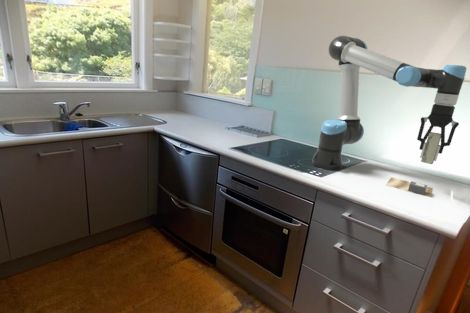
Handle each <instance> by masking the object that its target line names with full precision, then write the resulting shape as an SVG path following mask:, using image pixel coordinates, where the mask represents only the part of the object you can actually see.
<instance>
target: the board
mask: <svg viewBox="0 0 470 313" xmlns="http://www.w3.org/2000/svg"><path fill="white" fill-rule="evenodd" d="M410 183H411V181H407V180H403V179H400V178H396V177H392V176H391V177H390V178H389V179H388V181H387V182H386V184H385V186H388V187H392V188H396V189H398V190H401V191H404V192H406V191H407V192H409V193H413V194H417V195H420V196H423V197H427V198H432V194H433V189H434V187H431V186H427V188H426V191H425V194H424V195H421V194H418V193H414V192H411V191H408V189H409V185H410Z"/></svg>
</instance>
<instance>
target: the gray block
mask: <svg viewBox="0 0 470 313" xmlns="http://www.w3.org/2000/svg"><path fill="white" fill-rule="evenodd" d="M410 182H411V183H410V185H409V189H408V191H407V192H409V191H411V192H410V193H412V192H414V193H413V194H416V193H418V194H417V195H419V194H421V195H420V196H423V195H424V194H425V191H426V188H427V187H428V185H427V184H423V183H419V182H415V181H410Z"/></svg>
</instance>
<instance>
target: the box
mask: <svg viewBox="0 0 470 313" xmlns="http://www.w3.org/2000/svg"><path fill="white" fill-rule="evenodd" d="M425 142H426V146H425V149H424V153H423V156H422V158H421V160H420V162H421V163H424V164H429V165H433V164H434V158H435V155H436V152H437V149H438V145H440V143H441V132H440V133H439V132H433V131H431V132H430V133H429V135H428V137H427V139H426V141H425Z"/></svg>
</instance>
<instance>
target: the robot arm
mask: <svg viewBox="0 0 470 313" xmlns="http://www.w3.org/2000/svg"><path fill="white" fill-rule="evenodd" d="M328 54H329V56H330V57H331V59H333V60H335V61H338V68H339V69H340V70H341V76H340V104H339V108H340V110H339V116H338V117H337V118H336V119H328V120H327V119H326V120H325V121H324V122H323V123H322V124H321V125H322V126H321V127H320V135H319V139H318V140H319V141H318V146H317V150H316V152H315V154H314V155H313V157H312V161H311V163H312V165H313V166H315V167H317V168H320V169H323V170H324V169H325V170H328V171H329V170H330V171H331V170H332V171H338V170H341V169H342V168H343V158H342V150H343V146H344V145H352V144H355V143H358V142H359V141H360V140H361V139H362V138H363V136H364V134H365V133H364V132H365V130H364V126H363V125H362V123H361V118H360V116H359V115H358V108H359V84H360V83H359V80H360V68H363V69H365V70H368V71H370V72H373V73H374V74H377V75H380V76H382V77H385V78H387V79H390V80H392V81H394V82H397V83H398V84H399V85H400V86H403V87H414V88H426V89H427V88H429V89H436V90H437V91H436V94H435V97H434V101H433V103H434V104H433V105H432V108H431V111H430V114H429V115H428V116H426V117H423V116H422V117H421V118H420V123H421V124H420V126H419V131H418V135H417V138H416V140H417V141H419V142H420V146H419V150H421V152H420V156H419V158H421V159H422V156H423V153H424V149H425V146H426V142H427V139H428V135H429V133H430V132H432V130H433V129H434V127H436V128H437V127H438V128H440V134H441V139H440V144H439V145H438V149H437V152H436V155H435V158H434V161H435V162H437V158H438V155H439V154H440V155H441V154H442V153H443V151H444V148H445V147H448V146H451V144H452V140H453V137H454V134H455V131H456V129H457V127H458V126H459V125H460V123H459V122H458V121H455V120H453V115H454V112H455V109H456V107H455V106H456V105H457V102H458V99H459V96H460V91H461V90H462V86H463V85H464V84H463V83H464V81H465V77H466V72H467V67H466V66H465V65H459V64H446V65H444V66H443V68H442V69H432V68H431V69H430V68H424V67H416V66H415V65H414V66H413V65H411V64H408V63H405V62H402V61H400V60H397V59H394V58H392V57H389V56H387V55H383V54H380V53H378V52H375V51H372V50H371V49H370V50H369V49H368V46H367V44H366V42H365V41H363V40H362V39H360V38H357V37H351V36H347V35H339V36H337V37H334V39H332V41H331V42H330V44H329V46H328ZM427 121H428V122H429V123H430V126H429V127H428V129H427V131H426V132H425V135H424V136H423V132H424V128H425V126H426V123H427ZM450 124H451V129H450V132H449V135H448V138H447V141H445V140H446V139H445V137H446V127H447V126H448V125H450ZM422 136H423V137H422Z"/></svg>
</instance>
